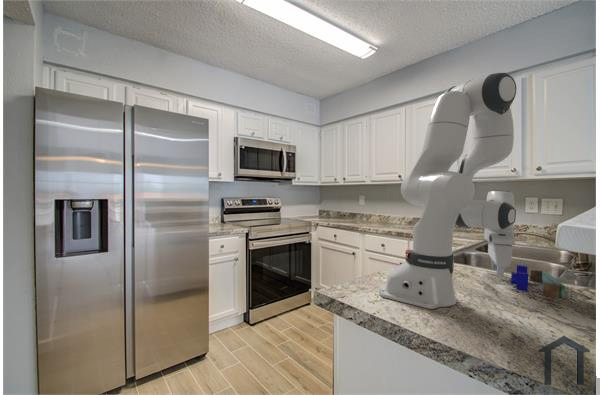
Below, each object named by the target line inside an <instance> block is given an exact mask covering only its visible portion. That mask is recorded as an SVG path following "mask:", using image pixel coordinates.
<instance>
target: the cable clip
mask: <svg viewBox="0 0 600 395" xmlns="http://www.w3.org/2000/svg"><path fill="white" fill-rule="evenodd" d="M510 283H511V285H516V286H515V287H516V288H515V289H516V291H522V292H528V290H529V272H528V265H521V264H516V272H514V271H511V278H510Z"/></svg>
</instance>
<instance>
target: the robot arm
mask: <svg viewBox="0 0 600 395" xmlns="http://www.w3.org/2000/svg"><path fill="white" fill-rule="evenodd" d="M516 94H517V83H516V81H515V78H513V77H512V75H510V73H507V72H497V73H491V74H489V75H486V76H482V77H477V78H474V79H469V80H467V81H464V82H463V83H459V84H458V85H454V86H451V87H450V88H448V89H447V90H446V91H445V92H443V93H442V94H440V96H439V97H437V99H436V102H435V104H434V106H433V109H432V112H431V114H430V117H429V120H428V125H427V130H426V133H425V138H424V140H423V141H424V142H423V147H422V148H421V149H422V150H421V152H420V155H419V156H418V158H417V161H416V163H415V165H414V166H413V168H412V170H411V172H410V173H409V175H408V176H406V177H405V178H404V179H403V180H402V182H401V185H400V194H401V196H402V198H403V200H405V201H406V202H407V203H409V204H412V205H414V206H417V207H423V211H422V215H421V216H420V219H419V220H418V221H417V222H416V223H415V224H414V226H413V229H412V231H413V232H412V249H411V248H407V249H405V261H404V262H402V263H401V264H399V265H397V266H396V267H394V268H393V269H391V270H390V271H389V273H388V275H387V277H386V281H385V282H383V283H382V284H380V287H379V289H378V293H379V295H380V296H381V297H382V298H386V299H390V300H393V301H398V302H401V303H405V304H410V305H413V306H418V307H421V308H426V309H428V310H434V309H438V308H441V307H442V308H443V307H451V306H454V305H455V304H457V302H458V301H457V296H456V292H455V287H454V280H453V273H454V268H455V266H454V265H455V259H454V254H453V241H454V240H453V237H454V236H453V235H454V230H455V225H456V226H457V227H458V228H474V229H475V228H477V229H484V231H483V233H484V234H483V235H484V236H483V237H484V238H483V239H484V240H486V241H487V244H488V246H487V254H488V257H490V259H491V269H492V270H493V271H496V277H497V278H500V279H501V278H502V279H503V278H504V274H505V269H506V268H510V266H511V265H512V264H511V263H512V256H513V246H515V245H516V238H515V222H516V214H517V209H516V204H515V198H514V197H515V195H514V193H512V192H510V191H507V190H491V191H488V193H487V195H486V200H477V199H476V200H475V199H474V196H475V192H476V189H475V183H474V182H473V178H474V177H475V175H476V174H477V173H478V172H479V171H481V170H484V169H485V168H488V167H491V166H494V165H496V164H499V163H501V162H503V161H505V160H506V159H507V158H508V157H509V156H510V154H511V153H512V152H513V147H514V137H515V136H514V132H515V130H514V120H513V114H512V110H511V105H512V104H513V102H514V100H515V98H516ZM470 117H472V118H473V119H474V124H473V137H472V139H473V140H472V145H471V149H470V151H469V152H468V153H467V154H466V155H464V156H463V158H462V159H461V162H460V166H459V170H458V172H456V171H452V170H450V169H451V167H452V166H453V165H454V163H455V162H457V161H458V160H459V159H460V158H461V156H462V155H463V152H464V150H465V149H464V148H465V143H466V139H467V135H468V130H469V124H470Z"/></svg>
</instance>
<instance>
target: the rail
mask: <svg viewBox="0 0 600 395" xmlns="http://www.w3.org/2000/svg"><path fill="white" fill-rule="evenodd" d="M528 281H530V282H537V283H541V284H543V296H544V297H547V298H548V297H549V298H554V299H562V300H565V292H566V286H565V285H564V284H563V283H562V282H560V281H559V280H558V279H557V278H555V277H554V276H553V275H551V274H550V273H549V272H548V271H547V270H542V269H532V268H529V272H528Z"/></svg>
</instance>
